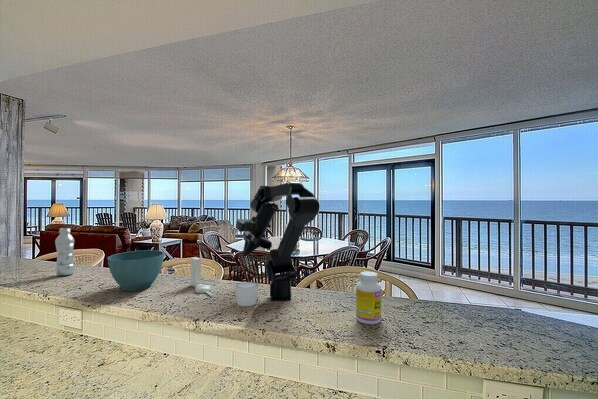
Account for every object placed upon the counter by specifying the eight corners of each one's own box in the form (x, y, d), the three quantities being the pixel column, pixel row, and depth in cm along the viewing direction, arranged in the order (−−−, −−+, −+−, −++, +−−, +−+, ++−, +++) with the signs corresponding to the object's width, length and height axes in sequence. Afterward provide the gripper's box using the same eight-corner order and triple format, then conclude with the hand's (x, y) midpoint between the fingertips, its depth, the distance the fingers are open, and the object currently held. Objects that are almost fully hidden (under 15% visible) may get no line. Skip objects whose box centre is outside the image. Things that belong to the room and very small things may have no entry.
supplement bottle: (376, 327, 77) (376, 278, 77) (352, 321, 80) (352, 274, 80) (384, 318, 82) (384, 272, 82) (361, 313, 86) (361, 269, 86)
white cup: (246, 313, 86) (246, 289, 85) (230, 308, 90) (230, 285, 90) (262, 306, 91) (262, 284, 91) (247, 301, 95) (247, 280, 95)
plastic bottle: (67, 277, 123) (66, 229, 123) (51, 277, 123) (50, 229, 123) (79, 273, 130) (78, 227, 129) (63, 273, 130) (63, 227, 129)
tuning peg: (200, 283, 110) (200, 256, 110) (219, 295, 97) (219, 264, 97) (186, 285, 107) (186, 258, 107) (204, 298, 94) (204, 267, 93)
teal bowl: (132, 299, 98) (132, 261, 97) (95, 292, 104) (95, 257, 104) (174, 283, 114) (174, 252, 114) (140, 278, 121) (140, 248, 121)
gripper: (236, 203, 112) (217, 240, 112) (255, 218, 97) (233, 260, 96) (260, 214, 118) (242, 248, 118) (281, 229, 103) (260, 269, 103)
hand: (243, 256), depth 109 cm, fingers closed
